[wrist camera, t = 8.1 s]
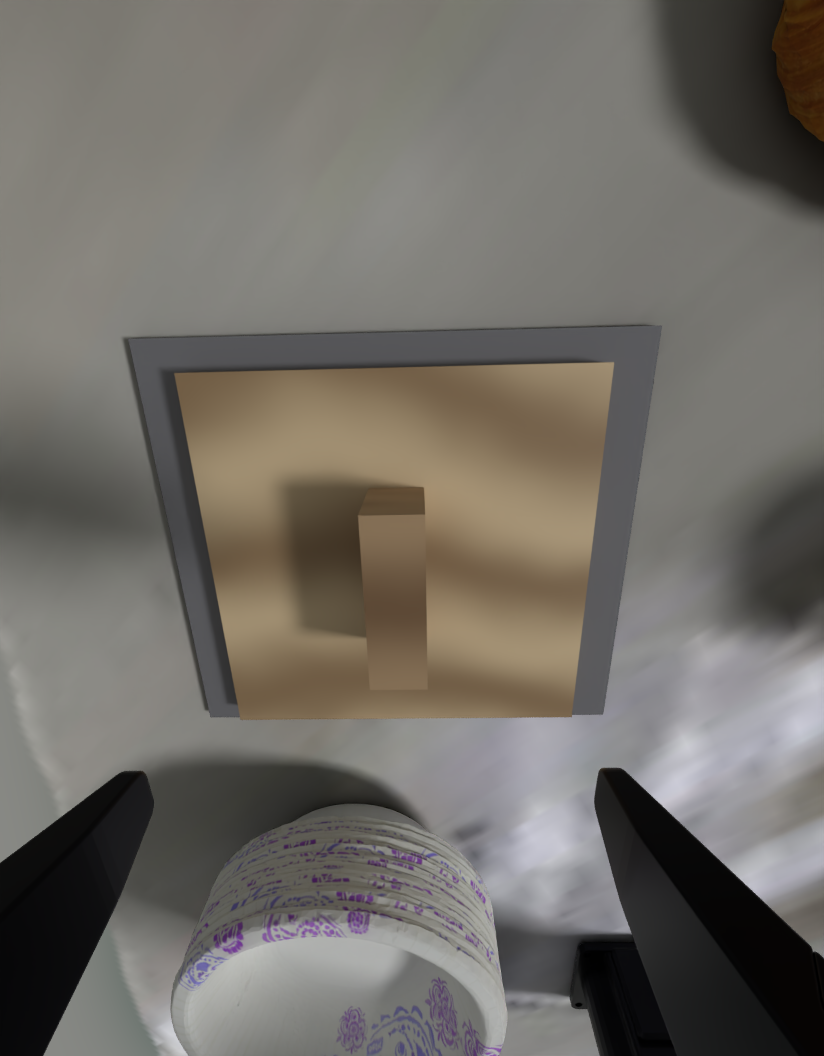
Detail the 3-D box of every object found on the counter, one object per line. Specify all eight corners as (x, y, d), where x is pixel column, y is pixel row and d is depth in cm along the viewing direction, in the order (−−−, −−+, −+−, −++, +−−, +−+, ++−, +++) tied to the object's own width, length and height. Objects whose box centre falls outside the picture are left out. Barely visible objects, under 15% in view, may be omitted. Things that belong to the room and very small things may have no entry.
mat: (599, 708, 24) (603, 714, 23) (213, 711, 24) (210, 717, 24) (656, 326, 17) (661, 325, 17) (134, 339, 18) (128, 338, 17)
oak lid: (565, 702, 23) (597, 777, 19) (247, 705, 23) (210, 779, 19) (603, 362, 17) (661, 363, 13) (187, 372, 18) (116, 376, 14)
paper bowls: (333, 716, 24) (294, 877, 17) (538, 850, 27) (582, 1035, 20) (185, 865, 28) (101, 1047, 21) (378, 966, 31) (365, 1154, 24)
